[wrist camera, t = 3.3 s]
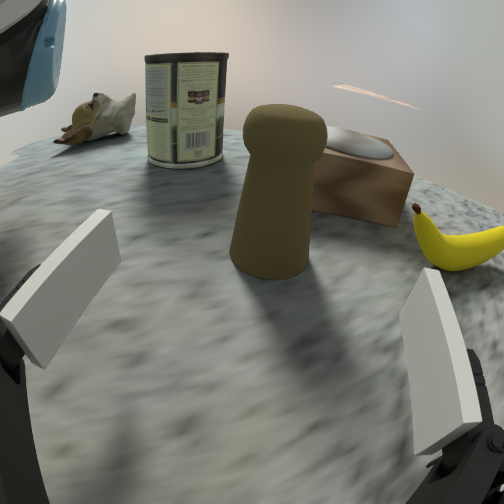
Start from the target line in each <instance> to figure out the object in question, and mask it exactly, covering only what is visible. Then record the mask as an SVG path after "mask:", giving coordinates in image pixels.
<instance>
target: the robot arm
mask: <svg viewBox="0 0 504 504" xmlns="http://www.w3.org/2000/svg"><path fill="white" fill-rule="evenodd" d="M65 21H66V4H65V0H0V117H1V116H5V115H8V114H11V113H15V112H18V111H24V110H25V108H28V107H31V106H34V105H37V104H40V103H43V102H45V101H46V100H48V99H49V98H50V97H51V96H52V95H53V94H54V92H55V90H56V88H57V85H58V80H59V74H60V67H61V59H62V51H63V41H64V32H65ZM120 262H121V257H120V252H119V247H118V242H117V238H116V233H115V227H114V222H113V217H112V211H107V210H101V209H98V210H97V211H95V212H94V213H93V214H92V215H91V216H90V217H89V218H88V219H87V220H86V221H85V222H83V223H82V224H81V225H80V226H79V227H78V228H77V229H76V230H75V231H74V232H73V233H72V234H71V235H70V236H69V237H68V238H67V239H66V240H65V241H64V242H63V243H62V244H61V245H60V246H59V247H58V248H57V249H56V250H55V251H54V252H53V253H52V254H51V255H50V256H49V257H48V258H47V259H46V260H45V261H44V262H43V263H42V264H39V265H38V266H36V267H35V268H33V269H32V270H30V271H29V272H28V273H27V274H26V275H25V276H24V277H23V279H22V281H20V282H19V283H18V284H17V285H16V286H15V287H16V288H14V289H13V290H12V291H11V292H10V293H9V295H8V296H7V297H6V298H5V299H4V301H3V302H2V303H1V304H0V504H50V503H49V500H48V497H47V493H46V490H45V486H44V483H43V479H42V475H41V472H40V467H39V463H38V459H37V454H36V450H35V445H34V439H33V434H32V428H31V422H30V415H29V407H28V398H27V388H26V375H25V364H24V360H23V359H22V358H23V356H24V355H25V354H26V356H27V357H28V358H29V360H30V361H31V362H32V363H33V364H35V365H37V366H38V367H40V368H42V369H44V370H45V369H46V368H47V366H48V365H49V363H50V361H51V360H52V358H53V357H54V355H55V354H56V352H57V350H58V349H59V347H60V346H61V344H62V343H63V341H64V340H65V338H66V337H67V335H68V334H69V332H70V331H71V329H72V328H73V326H74V325H75V323H76V322H77V321H78V319H79V318H80V316H81V315H82V313H83V312H84V311H85V309H86V308H87V306H88V305H89V304H90V302H91V301H92V299H93V298H94V297H95V295H96V294H97V293H98V291H99V290H100V288H101V287H102V286H103V284H104V283H105V282H106V280H107V279H108V278H109V276H110V275H111V274H112V273H113V271H114V270H115V269H116V267H117V266H118V265H119V264H120ZM399 318H400V324H401V329H402V335H403V341H404V348H405V354H406V361H407V369H408V377H409V385H410V395H411V406H412V418H413V435H414V456H418V455H432V454H434V453H436V452H437V451H439V450H441V449H442V453H443V455H442V456H440V457H439V458H437V459H435V460H433V461H431V462H430V463H429V464H428V465H427V466H426V467H427V468H429V467H431V466H432V465H434V466H433V467H432V469H431V470H430V472H429V473H428V475H427V476H426V477H425V479H424V480H423V482H422V483H421V484H420V486H419V487H418V488H417V490H416V491H415V492H414V494H413V495H412V496H411V497H410V499H409V500H408V501H407V502H406V504H504V490H503V491H502V492H500V488H501V485H502V484H504V430H503V429H502V428H501V427H500V426H498V425H495V424H494V421H493V416H492V410H491V405H490V401H489V396H488V391H487V387H486V386H485V379H484V376H483V371H482V367H481V364H480V361H479V359H478V357H477V356H476V354H475V352H474V351H473V349H466V347H465V343H464V340H463V337H462V333H461V330H460V327H459V324H458V321H457V318H456V315H455V312H454V309H453V306H452V303H451V301H450V298H449V295H448V292H447V290H446V287H445V284H444V282H443V279H442V277H441V274H440V272H439V270H434V269H429V268H423V270H422V272H421V274H420V276H419V278H418V280H417V282H416V284H415V286H414V288H413V289H412V291H411V293H410V295H409V297H408V299H407V301H406V302H405V304H404V306H403V308H402V310H401V311H400V313H399Z"/></svg>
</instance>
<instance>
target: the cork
mask: <svg viewBox="0 0 504 504" xmlns="http://www.w3.org/2000/svg"><path fill="white" fill-rule="evenodd" d="M327 139H328V134H327V127H326V125H325V122H324V120H323V119H322V118H321V117H320V116H319V115H318V114H316V113H314V112H312V111H310V110H307V109H304V108H301V107H297V106H293V105H285V104H270V105H261V106H258V107H256V108H254V109H252V110H251V112H250V113H249V115H248V116H247V118H246V120H245V123H244V127H243V140H244V145H245V147H246V148H247V150H248V151H249V153H250V159H249V163H248V168H247V172H246V177H245V181H244V186H243V190H242V195H241V199H240V204H239V209H238V213H237V218H236V223H235V227H234V232H233V237H232V242H231V246H230V251H229V253H230V257H231V260H232V261H233V262H234V264H235V265H236V266H237V267H238V268H239V269H241V270H242V271H244V272H245V273H247V274H249V275H252V276H255V277H258V278H261V279H270V280H279V279H287V278H290V277H293V276H295V275H298V274H299V273H300V272H301V271H303V270H304V269H305V267H306V265H307V263H308V257H309V244H310V229H311V214H312V196H313V175H314V163H315V162H316V161H317V160H318V159H319V158H320V157H321V155H322V154H323V152H324V150H325V147H326V144H327Z"/></svg>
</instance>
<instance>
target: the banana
mask: <svg viewBox="0 0 504 504" xmlns="http://www.w3.org/2000/svg"><path fill="white" fill-rule="evenodd" d="M412 209H413V210H414V211H415V215H414V229H415V233H416V237H417V239H418V242H419V244H420V246H421V249H422V251H423V253H424V255H425V257H426V258H427V259H428V261H430V262H431V263H432V264H434V265H435V266H437V267H440V268H442V269H444V270H448V271H461V270H465V269H469V268H472V267H475V266H477V265H480V264H482V263H484V262H486V261H488V260H489V259H491V258H493V257H494V256H496V255H497V254H498V253H500V252H501V251H502V250H503V249H504V226H500V227H496V228H493V229H490V230H487V231H483V232H478V233H473V234H467V235H444V234H442V233H441V232H440V231H439V230H438V228H437V227H436V226H435V224H434V223H433V221H432V220H431V219H430V218H429V217H428V216H427V215H426V214H425V213H423V212H422V211H421V208H420V206H419V205H418V204H416V203H414V204H413V205H412Z"/></svg>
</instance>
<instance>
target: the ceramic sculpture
mask: <svg viewBox="0 0 504 504" xmlns="http://www.w3.org/2000/svg"><path fill="white" fill-rule="evenodd" d="M135 99H136V94H135V93H133V94H132V95H130V96H127V97H125V98H123V99H121V100H112V99H110V98H109V96H107V95H104V94H99V93H94V95H93V99H92V101H87V102H84V103H82V104H80V105H79V106H78V107H77V108H76V109H75V111H74V113H73V116H72V124H73V125H70V126H68V127H67V128H62V129H61V130H62V131H63V132H66V133H65V134H64V135H63V136H62V137H61V138H59V139H56V140H54V141H53V143H56V144H65V145H73V144H78V143H81V142H83V141H91V140H96V139H99V138H102V137H103V136H105V135H107V134H109V133H112V132H117V133H120V134H122V135H124V134H126V133H127V132H128V131H129V129H130V125H131V121H132V118H133V116H134V114H135V103H136V101H135Z"/></svg>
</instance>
